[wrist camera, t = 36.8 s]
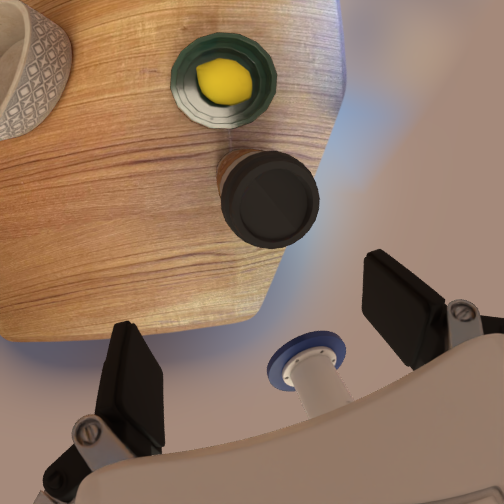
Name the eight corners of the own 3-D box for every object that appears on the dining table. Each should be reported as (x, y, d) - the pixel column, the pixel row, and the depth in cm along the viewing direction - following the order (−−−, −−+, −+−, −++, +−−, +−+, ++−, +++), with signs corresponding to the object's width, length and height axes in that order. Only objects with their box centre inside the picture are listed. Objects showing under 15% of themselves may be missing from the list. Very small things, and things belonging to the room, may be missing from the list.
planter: (97, 33, 22) (61, -2, 11) (46, 150, 27) (-9, 168, 16) (15, 20, 15) (-31, 1, 4) (-27, 124, 20) (-81, 137, 9)
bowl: (281, 90, 31) (296, 86, 27) (215, 146, 33) (220, 150, 28) (223, 29, 26) (230, 15, 21) (153, 85, 27) (148, 79, 23)
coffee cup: (245, 127, 32) (288, 131, 19) (284, 176, 36) (341, 211, 23) (194, 170, 33) (201, 204, 20) (236, 216, 37) (267, 272, 24)
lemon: (257, 82, 29) (270, 76, 25) (233, 117, 31) (242, 116, 26) (209, 53, 26) (214, 41, 22) (184, 88, 28) (183, 82, 23)
